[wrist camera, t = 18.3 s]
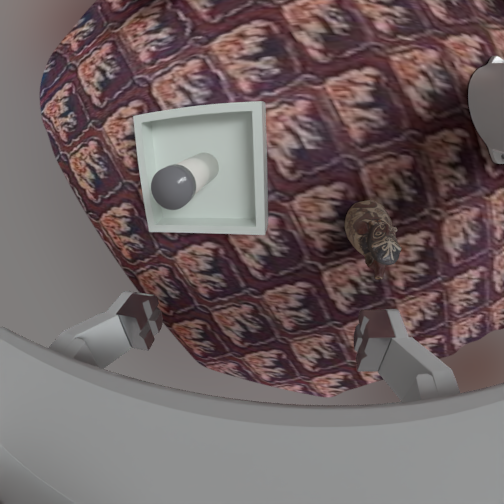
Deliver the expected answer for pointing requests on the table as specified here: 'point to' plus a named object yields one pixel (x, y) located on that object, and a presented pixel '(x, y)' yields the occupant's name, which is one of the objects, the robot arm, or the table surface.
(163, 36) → the table surface
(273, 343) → the table surface
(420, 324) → the table surface
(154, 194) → the shaker
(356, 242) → the figurine
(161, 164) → the tray
